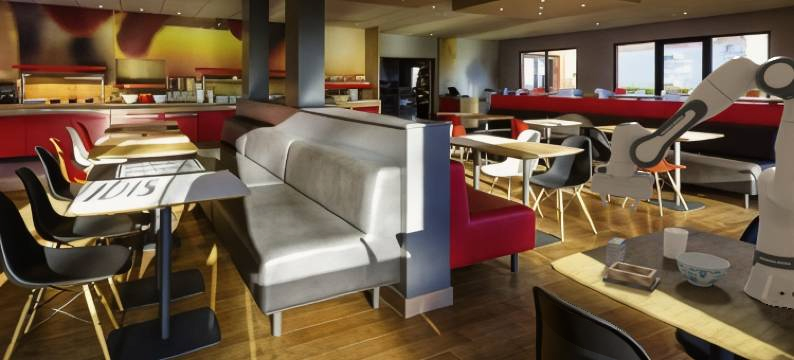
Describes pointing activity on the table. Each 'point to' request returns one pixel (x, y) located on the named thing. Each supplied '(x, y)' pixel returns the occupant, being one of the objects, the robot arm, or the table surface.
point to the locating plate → (632, 276)
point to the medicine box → (615, 251)
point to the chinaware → (702, 268)
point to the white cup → (674, 242)
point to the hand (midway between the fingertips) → (619, 208)
